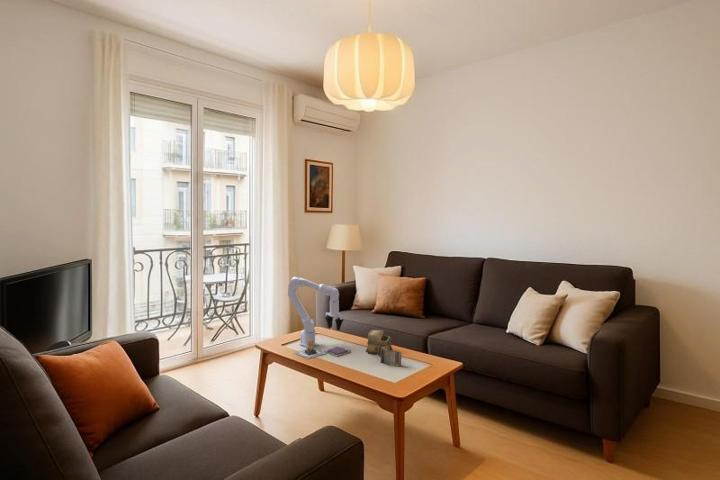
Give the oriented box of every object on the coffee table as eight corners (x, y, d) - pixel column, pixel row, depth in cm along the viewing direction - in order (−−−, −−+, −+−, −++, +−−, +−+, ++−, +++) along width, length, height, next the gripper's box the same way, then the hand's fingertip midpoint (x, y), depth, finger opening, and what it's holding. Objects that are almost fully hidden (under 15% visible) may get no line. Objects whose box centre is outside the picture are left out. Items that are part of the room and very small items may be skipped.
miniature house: (364, 354, 246) (364, 335, 245) (369, 347, 260) (369, 329, 259) (389, 356, 242) (389, 337, 242) (393, 349, 256) (393, 330, 255)
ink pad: (324, 352, 250) (324, 350, 250) (338, 348, 258) (338, 345, 258) (337, 356, 243) (337, 354, 242) (350, 352, 250) (350, 350, 250)
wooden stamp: (304, 352, 249) (304, 340, 248) (312, 351, 252) (312, 338, 251) (308, 354, 245) (308, 342, 244) (316, 353, 248) (316, 340, 247)
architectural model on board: (380, 363, 232) (380, 346, 232) (382, 362, 235) (382, 345, 234) (398, 367, 227) (398, 350, 226) (401, 366, 229) (401, 348, 229)
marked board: (293, 353, 248) (293, 352, 248) (311, 348, 258) (311, 347, 258) (308, 359, 239) (308, 358, 238) (326, 353, 248) (326, 353, 248)
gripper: (346, 308, 262) (346, 329, 263) (331, 304, 272) (331, 325, 273) (338, 310, 257) (338, 332, 258) (323, 306, 267) (323, 327, 268)
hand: (334, 328), depth 265 cm, fingers open, 7 cm apart
